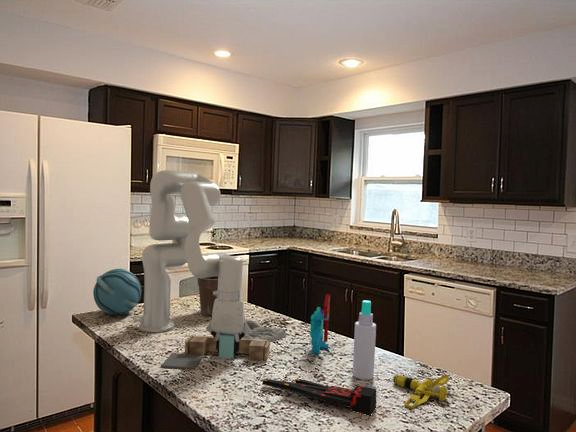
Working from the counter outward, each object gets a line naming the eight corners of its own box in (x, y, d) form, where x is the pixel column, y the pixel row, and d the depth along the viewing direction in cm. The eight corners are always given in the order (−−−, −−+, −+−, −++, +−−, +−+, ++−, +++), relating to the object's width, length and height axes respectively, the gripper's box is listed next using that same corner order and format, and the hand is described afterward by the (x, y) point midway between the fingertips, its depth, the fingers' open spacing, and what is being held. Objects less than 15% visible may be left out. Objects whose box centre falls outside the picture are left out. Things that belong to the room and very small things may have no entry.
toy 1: (149, 282, 196) (111, 256, 189) (154, 292, 178) (113, 264, 171) (121, 317, 192) (82, 292, 186) (124, 330, 175) (81, 303, 168)
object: (188, 311, 191) (189, 274, 190) (219, 306, 202) (220, 271, 201) (208, 320, 179) (210, 280, 179) (241, 314, 190) (242, 276, 190)
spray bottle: (348, 373, 131) (352, 299, 130) (365, 370, 134) (369, 298, 133) (360, 381, 126) (363, 304, 125) (377, 378, 128) (381, 303, 127)
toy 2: (324, 326, 136) (330, 289, 147) (305, 325, 137) (312, 288, 149) (326, 361, 148) (331, 324, 159) (309, 359, 149) (315, 322, 160)
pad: (160, 367, 130) (160, 365, 130) (172, 355, 140) (172, 353, 140) (194, 369, 129) (194, 367, 129) (203, 357, 139) (203, 355, 139)
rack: (184, 355, 140) (185, 341, 140) (190, 348, 146) (191, 335, 146) (266, 361, 138) (267, 347, 138) (269, 353, 144) (269, 340, 144)
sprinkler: (407, 360, 131) (458, 374, 122) (407, 373, 132) (458, 388, 122) (373, 389, 117) (428, 407, 107) (374, 403, 117) (429, 423, 108)
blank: (218, 357, 140) (219, 335, 139) (222, 352, 144) (222, 331, 144) (233, 358, 139) (233, 336, 139) (235, 353, 144) (236, 332, 144)
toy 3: (259, 396, 118) (369, 419, 105) (258, 377, 118) (369, 398, 105) (273, 384, 126) (378, 404, 112) (273, 367, 126) (378, 385, 112)
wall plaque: (289, 336, 164) (289, 326, 164) (253, 349, 150) (254, 338, 149) (244, 323, 179) (244, 313, 179) (207, 333, 164) (207, 323, 164)
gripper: (200, 296, 138) (198, 354, 139) (254, 299, 136) (252, 358, 137) (206, 291, 145) (204, 346, 146) (257, 294, 144) (255, 349, 145)
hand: (227, 351), depth 142 cm, fingers closed on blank, 4 cm apart
